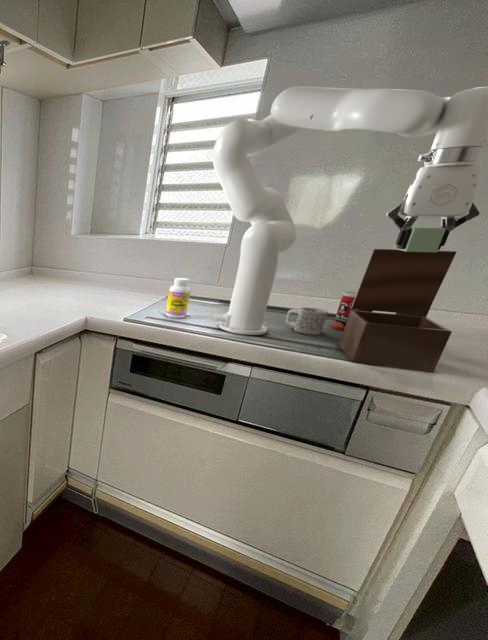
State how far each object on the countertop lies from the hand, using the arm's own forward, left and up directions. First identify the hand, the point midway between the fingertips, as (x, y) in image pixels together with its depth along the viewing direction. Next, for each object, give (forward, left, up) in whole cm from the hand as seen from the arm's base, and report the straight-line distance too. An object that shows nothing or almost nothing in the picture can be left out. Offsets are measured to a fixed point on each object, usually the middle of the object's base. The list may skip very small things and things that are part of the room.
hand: (417, 248), depth 91 cm
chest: (+1, 0, -26) cm, 26 cm away
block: (0, 0, -1) cm, 1 cm away
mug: (-13, +21, -27) cm, 36 cm away
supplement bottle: (-49, +22, -27) cm, 60 cm away
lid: (+1, +7, -9) cm, 11 cm away
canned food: (0, +29, -27) cm, 39 cm away
